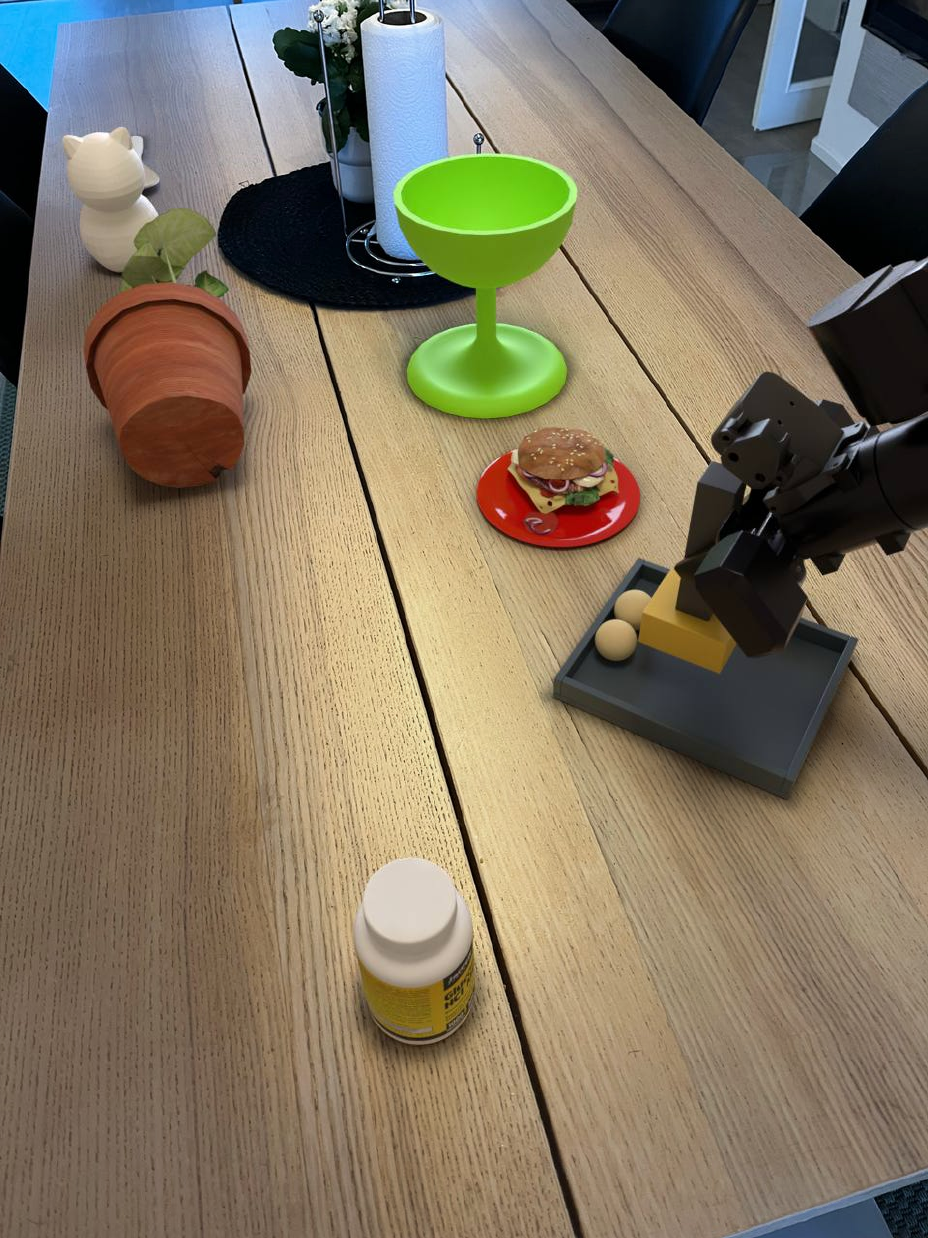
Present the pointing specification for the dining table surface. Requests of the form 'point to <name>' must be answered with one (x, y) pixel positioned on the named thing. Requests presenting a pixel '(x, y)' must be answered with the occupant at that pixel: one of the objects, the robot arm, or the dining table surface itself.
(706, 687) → the tray
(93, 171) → the cat figurine
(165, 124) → the dining table surface
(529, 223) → the wineglass
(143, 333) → the potted plant
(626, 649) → the crumb
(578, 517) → the hamburger
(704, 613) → the grey and yellow block
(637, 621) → the crumb
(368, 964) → the pill bottle
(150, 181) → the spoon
